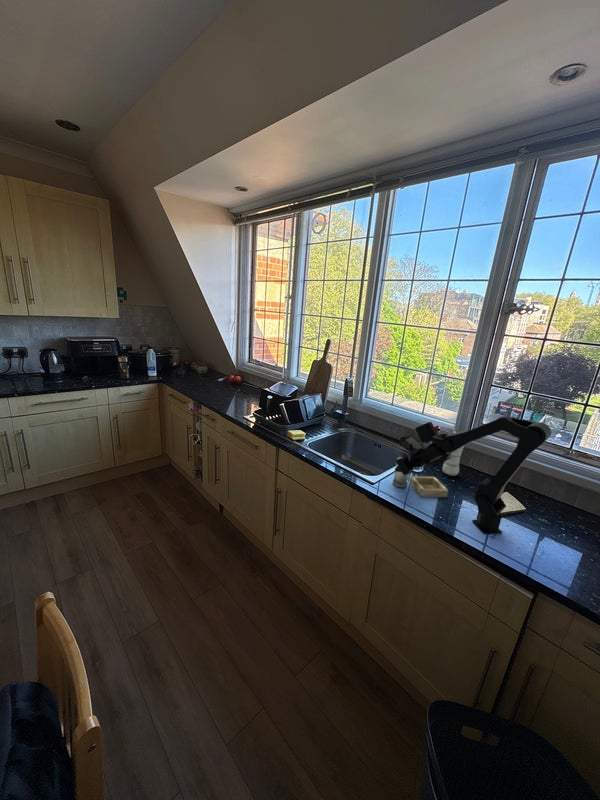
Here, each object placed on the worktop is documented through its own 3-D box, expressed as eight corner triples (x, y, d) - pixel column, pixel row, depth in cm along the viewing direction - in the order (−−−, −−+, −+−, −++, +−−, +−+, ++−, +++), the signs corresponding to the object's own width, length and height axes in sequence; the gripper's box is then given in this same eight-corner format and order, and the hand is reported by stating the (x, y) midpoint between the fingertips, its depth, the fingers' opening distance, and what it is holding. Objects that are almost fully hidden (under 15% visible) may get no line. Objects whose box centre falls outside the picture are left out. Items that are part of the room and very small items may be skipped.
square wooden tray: (446, 497, 124) (448, 490, 123) (421, 497, 123) (422, 490, 122) (433, 483, 134) (434, 476, 133) (409, 482, 132) (410, 476, 132)
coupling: (409, 489, 128) (414, 463, 125) (396, 488, 127) (400, 463, 124) (402, 480, 134) (406, 456, 131) (389, 480, 134) (393, 455, 131)
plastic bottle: (459, 478, 139) (469, 435, 134) (443, 476, 140) (452, 433, 135) (455, 471, 145) (465, 430, 140) (439, 469, 146) (448, 428, 141)
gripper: (430, 429, 128) (401, 445, 139) (404, 439, 116) (375, 455, 126) (445, 454, 124) (415, 469, 135) (421, 467, 112) (389, 482, 123)
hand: (399, 468), depth 130 cm, fingers open, 5 cm apart
